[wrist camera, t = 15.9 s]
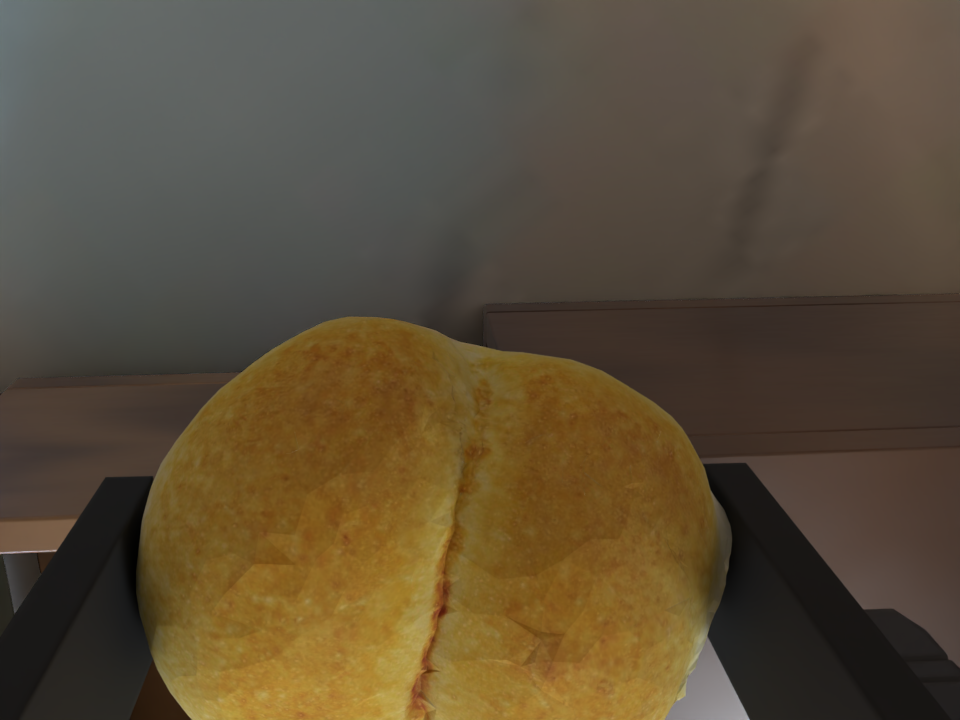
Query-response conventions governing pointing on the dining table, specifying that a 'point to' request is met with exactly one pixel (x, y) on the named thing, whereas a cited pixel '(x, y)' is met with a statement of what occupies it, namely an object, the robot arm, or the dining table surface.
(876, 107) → the dining table surface
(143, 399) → the drawer
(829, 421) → the cabinet
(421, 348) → the bread roll
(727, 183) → the dining table surface
